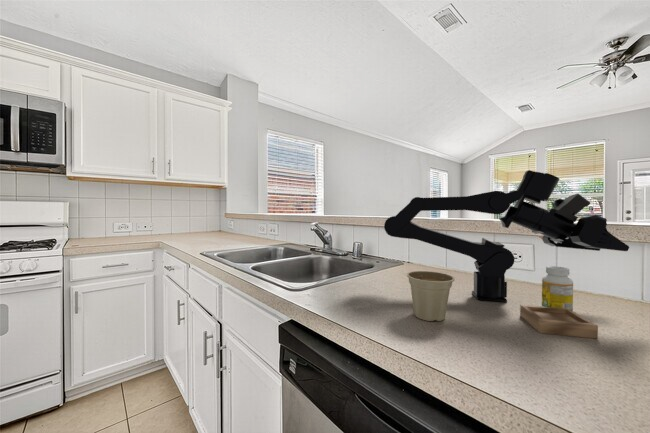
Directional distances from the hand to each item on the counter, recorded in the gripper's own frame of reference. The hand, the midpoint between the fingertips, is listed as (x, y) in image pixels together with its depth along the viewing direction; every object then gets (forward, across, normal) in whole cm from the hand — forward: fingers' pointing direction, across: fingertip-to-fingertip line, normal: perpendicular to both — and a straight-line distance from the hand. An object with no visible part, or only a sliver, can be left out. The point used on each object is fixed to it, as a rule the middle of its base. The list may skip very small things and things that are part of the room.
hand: (613, 248), depth 61 cm
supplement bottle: (-4, -2, +18) cm, 19 cm away
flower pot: (-28, -15, +31) cm, 45 cm away
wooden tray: (-8, -12, +21) cm, 25 cm away
